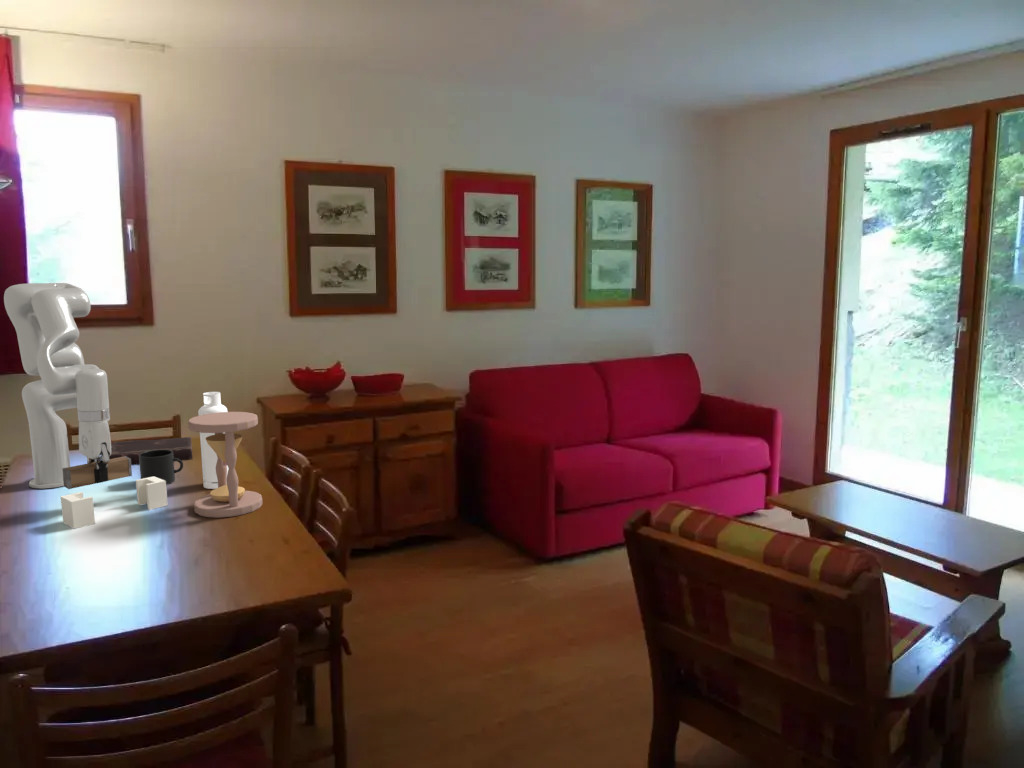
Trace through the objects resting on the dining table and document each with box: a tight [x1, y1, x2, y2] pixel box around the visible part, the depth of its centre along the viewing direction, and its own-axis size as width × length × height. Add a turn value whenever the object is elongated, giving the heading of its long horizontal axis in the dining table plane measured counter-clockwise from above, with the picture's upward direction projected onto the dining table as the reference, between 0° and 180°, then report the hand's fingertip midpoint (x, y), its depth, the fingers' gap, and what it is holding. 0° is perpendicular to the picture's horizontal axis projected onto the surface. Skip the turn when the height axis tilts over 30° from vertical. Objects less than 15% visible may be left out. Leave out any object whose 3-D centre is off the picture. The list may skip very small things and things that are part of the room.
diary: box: [109, 436, 193, 466], centre depth 263 cm, size 19×25×5 cm
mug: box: [139, 450, 184, 486], centre depth 233 cm, size 9×12×9 cm
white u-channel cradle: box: [60, 476, 169, 529], centre depth 204 cm, size 7×24×7 cm, turn 140°
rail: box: [62, 456, 133, 490], centre depth 210 cm, size 3×16×5 cm, turn 140°
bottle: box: [197, 391, 229, 490], centre depth 228 cm, size 8×8×28 cm
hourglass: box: [187, 411, 264, 519], centre depth 208 cm, size 18×18×25 cm
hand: (98, 479), depth 210 cm, fingers closed on rail, 3 cm apart
